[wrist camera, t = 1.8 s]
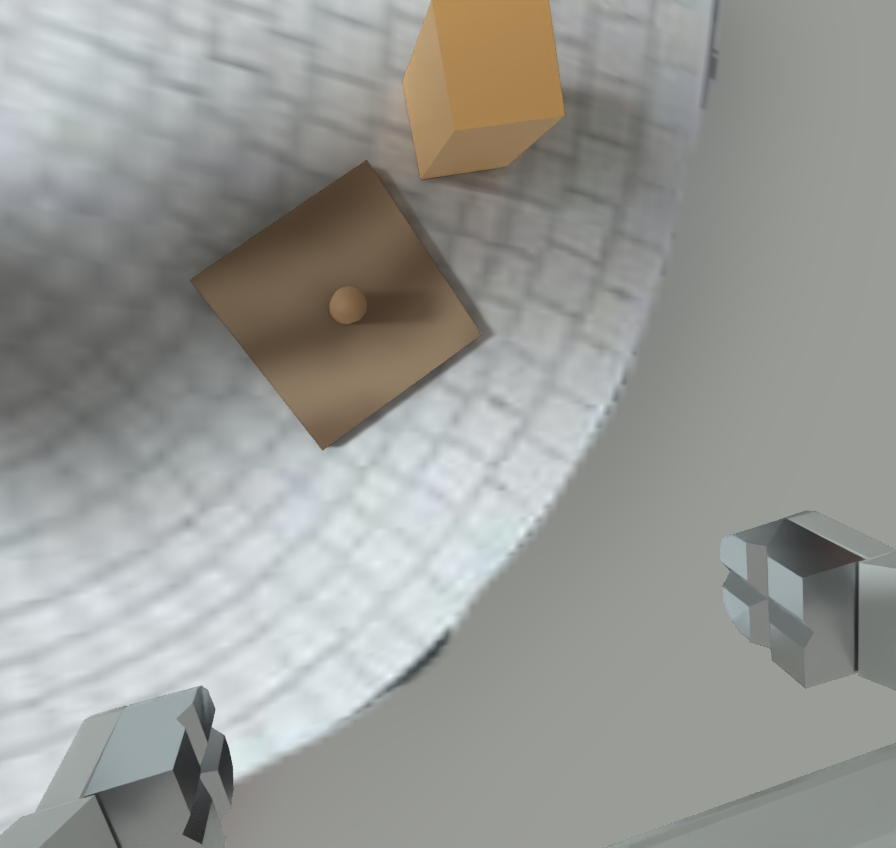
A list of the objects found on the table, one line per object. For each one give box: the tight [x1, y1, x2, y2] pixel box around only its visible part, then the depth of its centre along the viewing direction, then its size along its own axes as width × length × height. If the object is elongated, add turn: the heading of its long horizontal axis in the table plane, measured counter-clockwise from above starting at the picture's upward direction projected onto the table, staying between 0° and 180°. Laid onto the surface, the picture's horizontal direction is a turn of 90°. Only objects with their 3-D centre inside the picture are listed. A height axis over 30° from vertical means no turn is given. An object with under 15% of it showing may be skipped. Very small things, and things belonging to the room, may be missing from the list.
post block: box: [190, 160, 482, 450], centre depth 34 cm, size 12×12×6 cm
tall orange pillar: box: [402, 0, 565, 180], centre depth 32 cm, size 6×6×9 cm
